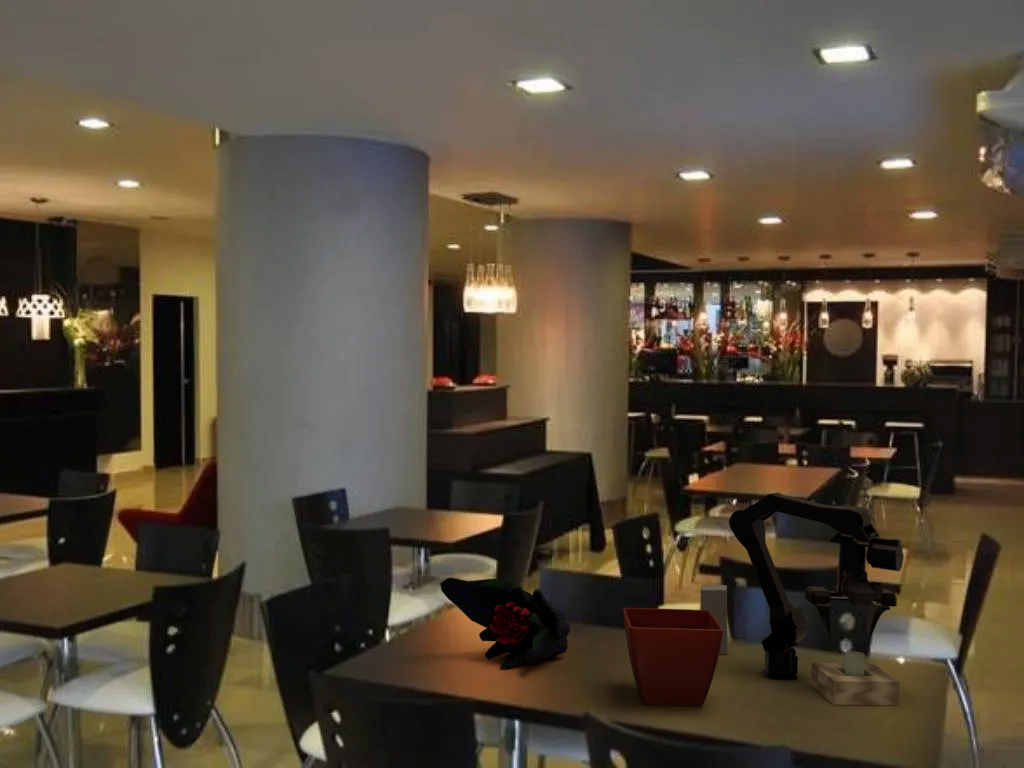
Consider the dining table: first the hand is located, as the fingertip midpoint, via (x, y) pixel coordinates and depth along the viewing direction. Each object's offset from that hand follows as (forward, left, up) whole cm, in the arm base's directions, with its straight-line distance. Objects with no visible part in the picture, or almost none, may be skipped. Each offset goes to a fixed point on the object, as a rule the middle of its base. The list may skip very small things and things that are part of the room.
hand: (848, 635), depth 241 cm
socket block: (0, -4, -12) cm, 13 cm away
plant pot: (-41, -7, -12) cm, 43 cm away
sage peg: (0, -4, -12) cm, 13 cm away
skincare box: (-22, +32, -12) cm, 40 cm away
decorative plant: (-72, +18, -12) cm, 75 cm away
